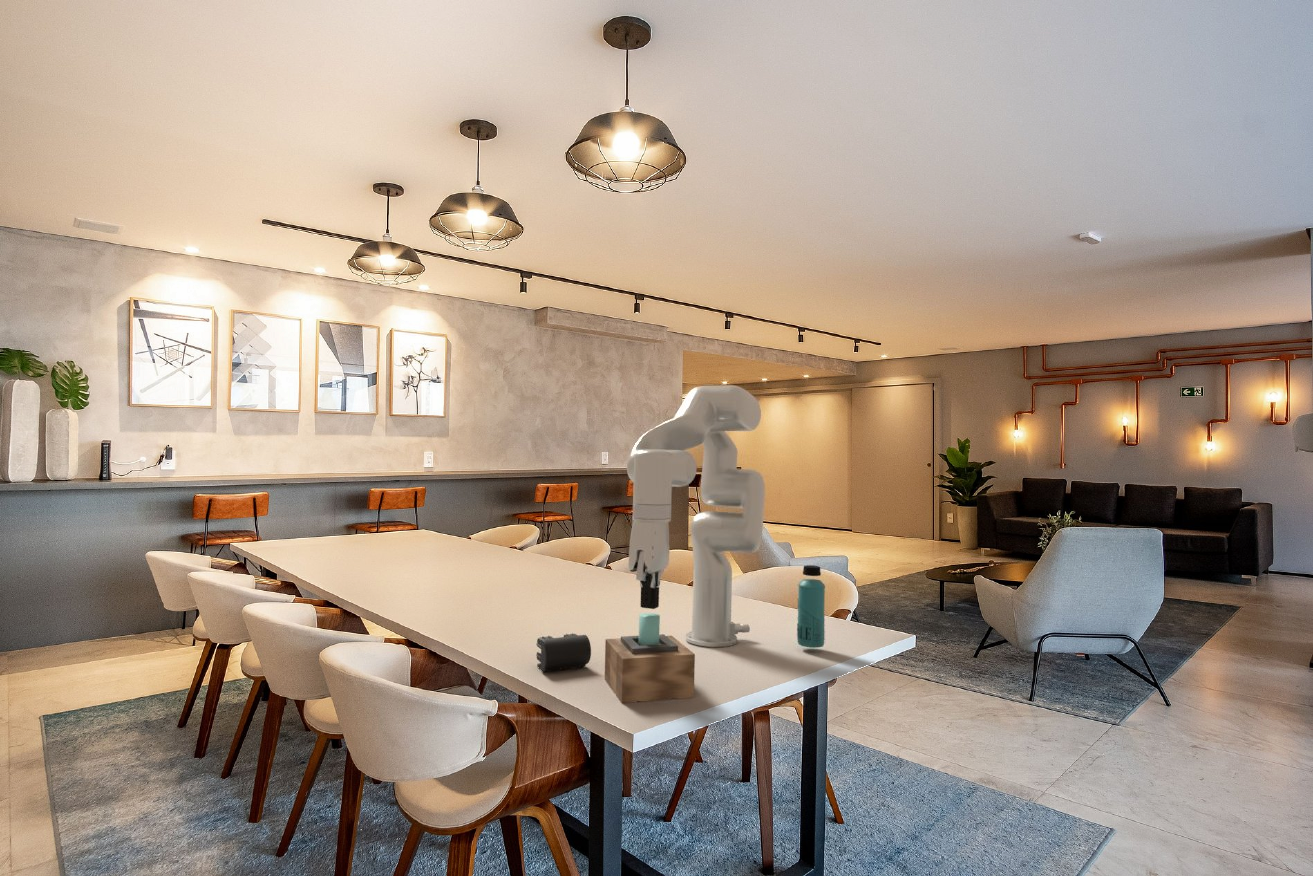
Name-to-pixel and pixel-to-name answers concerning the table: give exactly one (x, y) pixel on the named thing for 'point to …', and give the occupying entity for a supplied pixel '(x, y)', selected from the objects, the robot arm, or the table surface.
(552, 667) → the end cap
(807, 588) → the beverage bottle
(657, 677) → the socket block
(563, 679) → the table surface
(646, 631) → the peg
